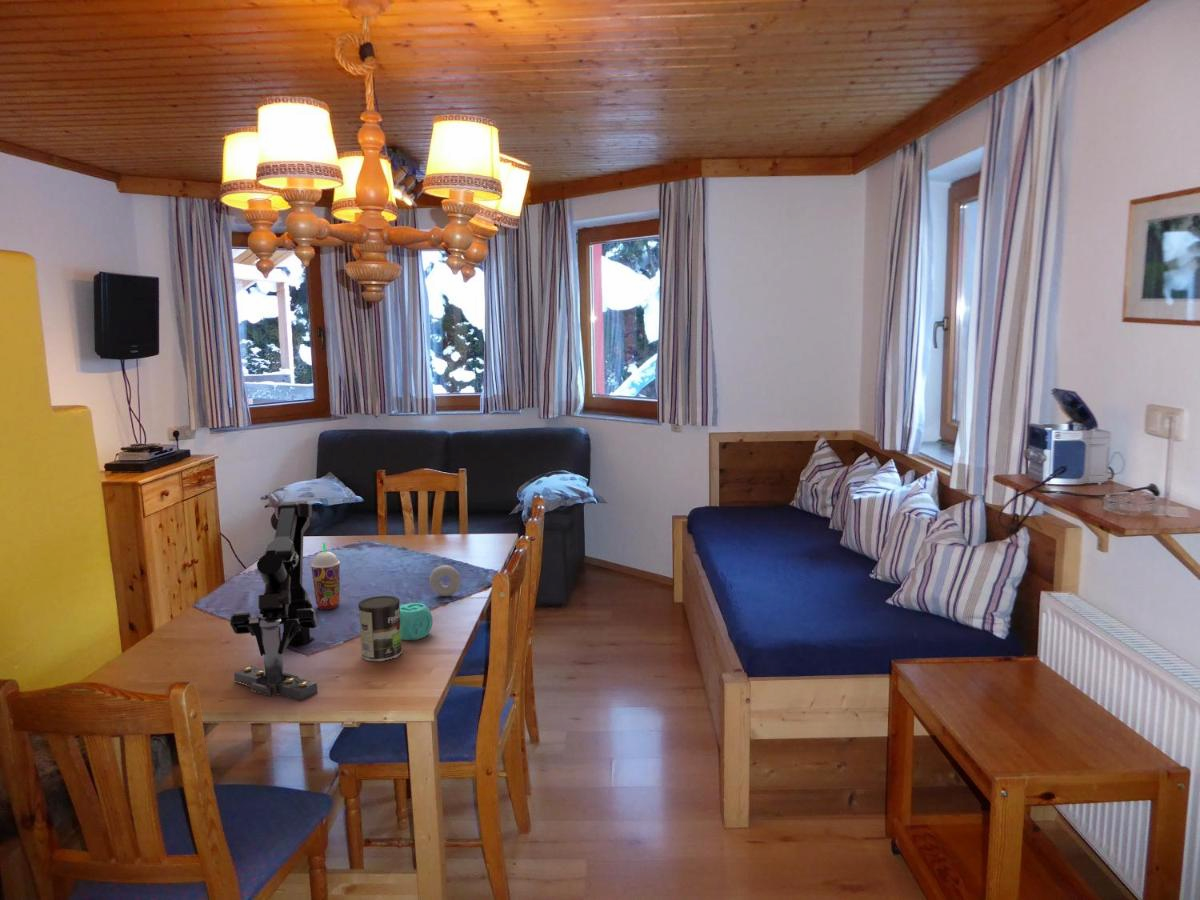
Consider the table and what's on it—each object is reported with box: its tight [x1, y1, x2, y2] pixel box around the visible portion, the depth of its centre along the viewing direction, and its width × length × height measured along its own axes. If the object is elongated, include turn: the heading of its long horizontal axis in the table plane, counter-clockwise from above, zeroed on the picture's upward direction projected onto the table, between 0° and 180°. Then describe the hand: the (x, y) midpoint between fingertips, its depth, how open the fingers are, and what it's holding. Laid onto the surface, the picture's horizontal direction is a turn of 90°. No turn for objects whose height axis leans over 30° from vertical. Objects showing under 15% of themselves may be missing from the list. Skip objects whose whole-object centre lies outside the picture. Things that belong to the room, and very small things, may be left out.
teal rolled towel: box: [399, 602, 434, 641], centre depth 231 cm, size 8×8×8 cm
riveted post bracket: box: [233, 664, 318, 702], centre depth 199 cm, size 22×8×3 cm, turn 61°
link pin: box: [259, 617, 285, 686], centre depth 198 cm, size 5×5×15 cm
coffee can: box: [358, 595, 403, 662], centre depth 217 cm, size 10×10×14 cm
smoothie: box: [310, 542, 341, 610], centre depth 255 cm, size 8×8×20 cm
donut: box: [429, 564, 462, 597], centre depth 264 cm, size 10×4×10 cm, turn 83°
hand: (271, 654), depth 197 cm, fingers closed on link pin, 4 cm apart
